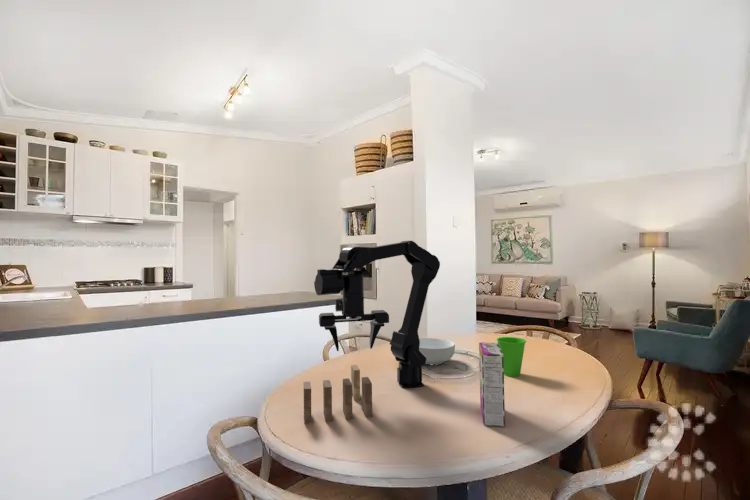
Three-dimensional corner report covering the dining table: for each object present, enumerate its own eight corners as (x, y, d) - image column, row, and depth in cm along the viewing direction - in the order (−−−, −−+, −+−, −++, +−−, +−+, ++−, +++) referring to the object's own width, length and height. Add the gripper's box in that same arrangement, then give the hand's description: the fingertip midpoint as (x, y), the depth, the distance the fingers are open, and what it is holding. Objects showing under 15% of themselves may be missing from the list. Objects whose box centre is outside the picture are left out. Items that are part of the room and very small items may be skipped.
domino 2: (330, 412, 95) (329, 379, 95) (332, 420, 90) (331, 386, 90) (323, 412, 94) (323, 380, 94) (325, 421, 89) (324, 387, 90)
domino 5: (368, 408, 97) (367, 376, 97) (372, 416, 92) (371, 383, 92) (361, 409, 96) (361, 377, 96) (365, 417, 92) (365, 383, 92)
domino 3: (349, 410, 96) (349, 378, 96) (352, 418, 91) (352, 385, 91) (342, 411, 95) (342, 378, 95) (345, 419, 90) (345, 385, 91)
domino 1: (310, 414, 94) (310, 381, 94) (311, 423, 89) (311, 388, 89) (303, 414, 93) (303, 381, 93) (304, 423, 88) (304, 389, 89)
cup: (495, 377, 120) (495, 341, 120) (497, 368, 128) (497, 335, 128) (526, 380, 116) (526, 344, 116) (526, 371, 125) (526, 337, 125)
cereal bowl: (459, 369, 128) (459, 348, 128) (409, 369, 128) (409, 348, 128) (450, 355, 145) (450, 336, 145) (406, 355, 145) (406, 337, 145)
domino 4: (357, 393, 107) (356, 364, 107) (360, 399, 102) (359, 370, 102) (351, 393, 107) (351, 365, 107) (354, 400, 102) (353, 370, 102)
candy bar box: (479, 406, 97) (478, 341, 97) (499, 408, 96) (498, 342, 96) (482, 426, 86) (481, 353, 86) (505, 428, 85) (504, 354, 85)
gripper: (380, 288, 115) (381, 340, 115) (317, 291, 111) (318, 344, 111) (389, 292, 104) (390, 349, 104) (319, 295, 100) (320, 355, 100)
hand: (354, 349), depth 105 cm, fingers open, 9 cm apart
